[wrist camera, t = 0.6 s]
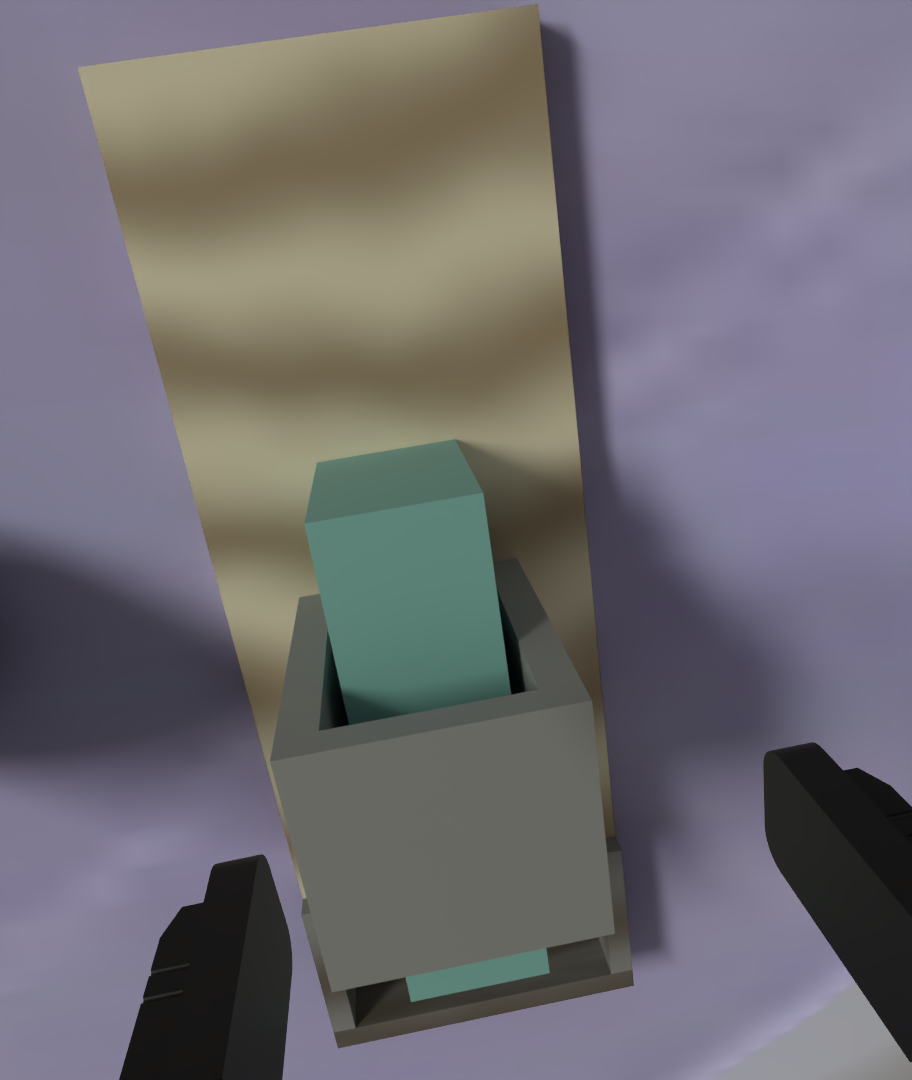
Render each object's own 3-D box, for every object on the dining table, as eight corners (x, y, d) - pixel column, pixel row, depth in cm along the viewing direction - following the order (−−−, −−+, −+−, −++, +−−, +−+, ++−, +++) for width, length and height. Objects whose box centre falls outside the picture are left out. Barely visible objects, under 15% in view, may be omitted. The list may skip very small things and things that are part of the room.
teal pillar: (316, 462, 28) (304, 523, 22) (454, 439, 29) (483, 492, 22) (401, 861, 35) (411, 1002, 28) (513, 838, 35) (549, 973, 28)
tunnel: (298, 597, 30) (269, 761, 20) (517, 558, 31) (592, 700, 21) (340, 772, 33) (331, 992, 23) (539, 734, 33) (614, 933, 24)
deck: (93, 77, 25) (67, 60, 23) (528, 17, 26) (544, -6, 24) (339, 1002, 39) (338, 1048, 37) (618, 944, 40) (633, 985, 37)
